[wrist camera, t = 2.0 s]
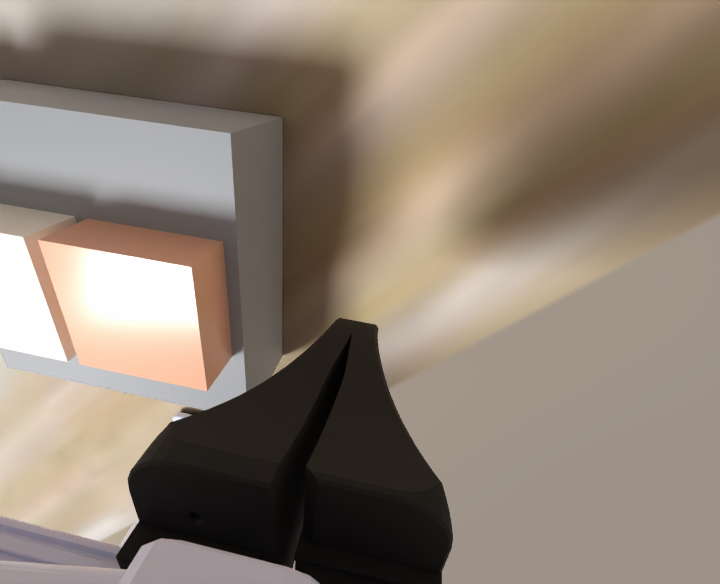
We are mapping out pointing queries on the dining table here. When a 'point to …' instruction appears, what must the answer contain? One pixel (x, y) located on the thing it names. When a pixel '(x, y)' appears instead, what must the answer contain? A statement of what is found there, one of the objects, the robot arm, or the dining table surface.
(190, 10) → the dining table surface
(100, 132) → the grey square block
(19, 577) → the robot arm
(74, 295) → the terracotta tile
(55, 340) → the cream tile
